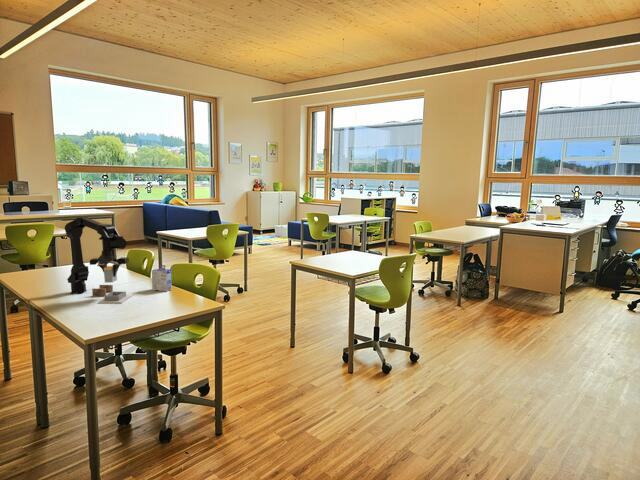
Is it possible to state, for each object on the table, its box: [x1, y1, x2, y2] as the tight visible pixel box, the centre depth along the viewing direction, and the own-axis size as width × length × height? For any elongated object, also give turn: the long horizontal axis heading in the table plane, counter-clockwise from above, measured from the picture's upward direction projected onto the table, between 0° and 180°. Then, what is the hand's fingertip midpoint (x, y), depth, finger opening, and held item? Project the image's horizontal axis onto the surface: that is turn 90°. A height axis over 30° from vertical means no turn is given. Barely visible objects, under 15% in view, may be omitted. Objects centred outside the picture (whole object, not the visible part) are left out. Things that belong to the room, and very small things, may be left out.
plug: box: [103, 265, 118, 284], centre depth 238 cm, size 4×6×8 cm, turn 3°
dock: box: [97, 291, 133, 305], centre depth 235 cm, size 12×14×3 cm
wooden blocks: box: [91, 284, 114, 297], centre depth 247 cm, size 7×10×4 cm
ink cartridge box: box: [151, 264, 173, 292], centre depth 256 cm, size 10×6×14 cm, turn 78°
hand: (110, 276), depth 238 cm, fingers closed on plug, 4 cm apart
